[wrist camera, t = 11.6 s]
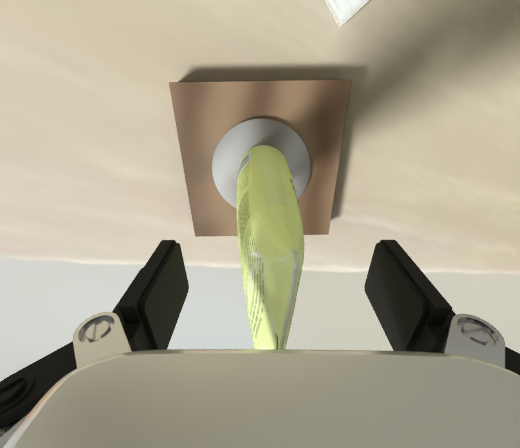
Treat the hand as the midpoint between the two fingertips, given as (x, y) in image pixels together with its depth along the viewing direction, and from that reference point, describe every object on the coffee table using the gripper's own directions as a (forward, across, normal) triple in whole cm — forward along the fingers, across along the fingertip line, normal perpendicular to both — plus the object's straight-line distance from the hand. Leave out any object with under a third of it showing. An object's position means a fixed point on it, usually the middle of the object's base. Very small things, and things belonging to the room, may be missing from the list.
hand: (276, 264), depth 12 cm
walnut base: (+18, +1, 0) cm, 18 cm away
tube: (+15, +1, 0) cm, 15 cm away
